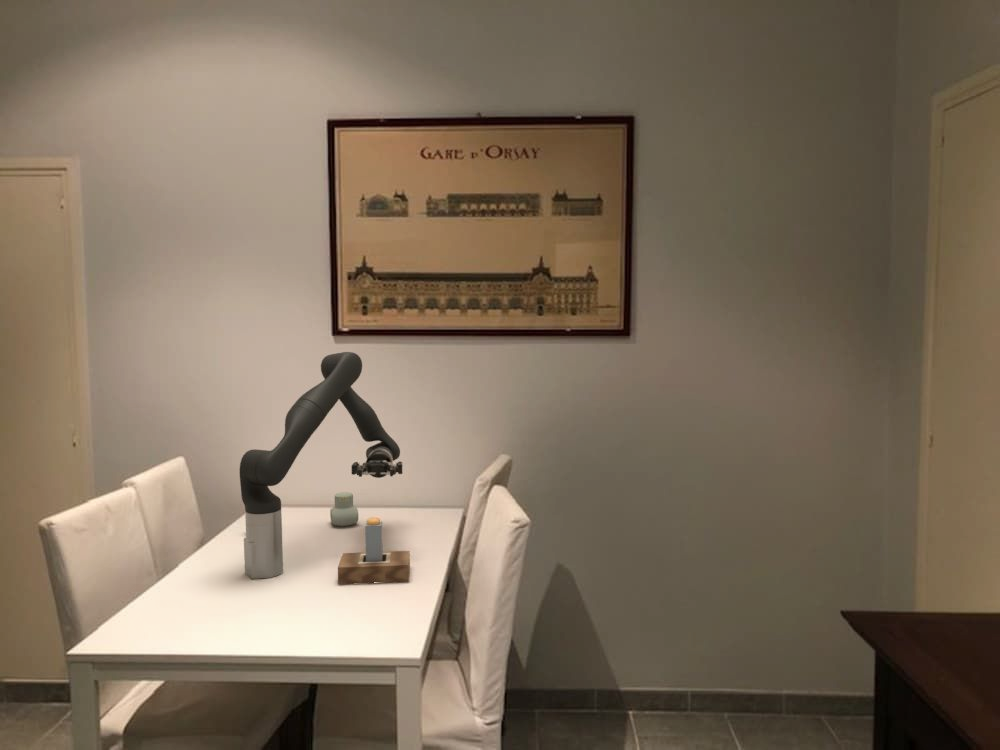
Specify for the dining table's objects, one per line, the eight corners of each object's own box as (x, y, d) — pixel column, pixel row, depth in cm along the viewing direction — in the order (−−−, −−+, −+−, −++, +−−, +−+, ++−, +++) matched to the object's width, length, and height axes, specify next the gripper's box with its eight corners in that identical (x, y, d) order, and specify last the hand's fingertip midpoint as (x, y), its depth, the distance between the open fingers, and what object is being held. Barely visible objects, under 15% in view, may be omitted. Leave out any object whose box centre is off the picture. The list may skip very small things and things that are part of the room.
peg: (366, 578, 209) (365, 521, 208) (367, 573, 213) (366, 517, 212) (381, 577, 210) (380, 521, 208) (383, 572, 214) (381, 517, 212)
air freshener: (330, 521, 265) (329, 491, 264) (355, 518, 268) (354, 489, 267) (333, 529, 255) (332, 499, 254) (359, 527, 257) (358, 497, 256)
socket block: (338, 584, 205) (337, 566, 204) (343, 569, 217) (342, 552, 216) (408, 582, 206) (408, 564, 206) (409, 566, 218) (409, 550, 218)
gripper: (355, 450, 235) (349, 459, 219) (403, 449, 237) (401, 459, 221) (355, 475, 236) (349, 486, 220) (403, 474, 237) (401, 486, 221)
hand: (375, 472), depth 220 cm, fingers open, 8 cm apart
